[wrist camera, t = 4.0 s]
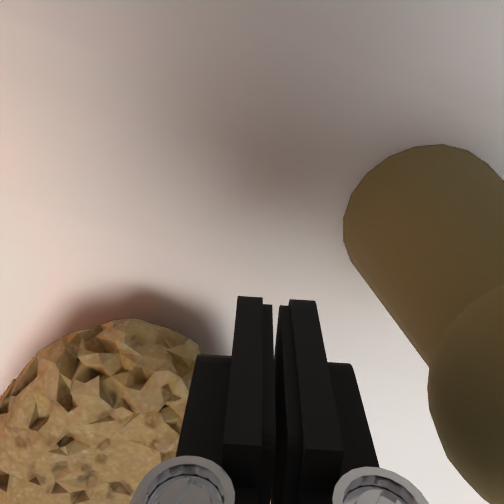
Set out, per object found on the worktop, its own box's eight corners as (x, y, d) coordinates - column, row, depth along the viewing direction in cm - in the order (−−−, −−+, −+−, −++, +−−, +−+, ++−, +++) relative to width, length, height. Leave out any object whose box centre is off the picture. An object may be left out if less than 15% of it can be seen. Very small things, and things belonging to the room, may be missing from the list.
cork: (355, 306, 19) (453, 601, 9) (330, 166, 17) (428, 365, 7) (506, 276, 18) (791, 563, 8) (504, 125, 16) (901, 282, 6)
